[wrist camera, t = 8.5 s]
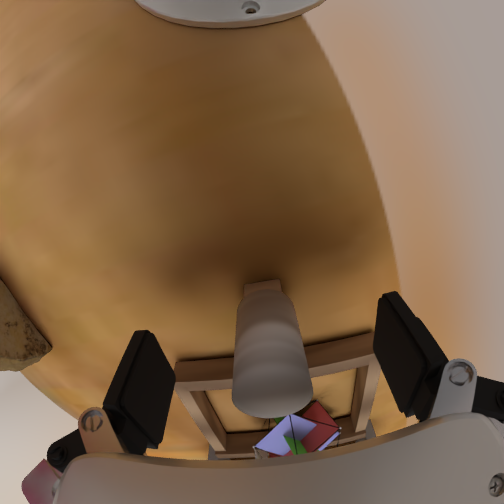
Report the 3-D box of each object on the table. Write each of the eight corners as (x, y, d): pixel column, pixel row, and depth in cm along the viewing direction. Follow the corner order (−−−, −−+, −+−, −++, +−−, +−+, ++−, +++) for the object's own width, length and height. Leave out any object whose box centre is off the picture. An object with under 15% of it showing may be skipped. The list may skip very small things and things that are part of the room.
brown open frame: (144, 291, 15) (94, 377, 9) (379, 252, 15) (448, 326, 8) (219, 438, 22) (214, 499, 16) (359, 418, 21) (376, 477, 15)
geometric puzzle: (323, 387, 16) (278, 490, 12) (371, 412, 18) (338, 495, 14) (263, 382, 22) (226, 459, 17) (312, 407, 24) (282, 474, 19)
